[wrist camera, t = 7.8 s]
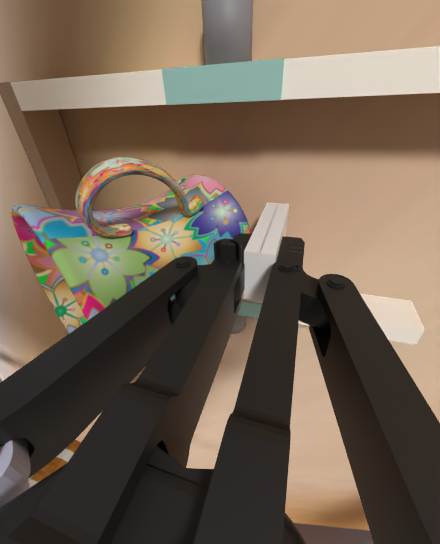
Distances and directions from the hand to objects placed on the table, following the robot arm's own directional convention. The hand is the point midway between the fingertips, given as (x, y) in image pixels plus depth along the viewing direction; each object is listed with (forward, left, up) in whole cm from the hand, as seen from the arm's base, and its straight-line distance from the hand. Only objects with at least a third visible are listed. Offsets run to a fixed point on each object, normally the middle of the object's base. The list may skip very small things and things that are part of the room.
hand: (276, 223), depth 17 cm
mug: (0, -4, 0) cm, 4 cm away
